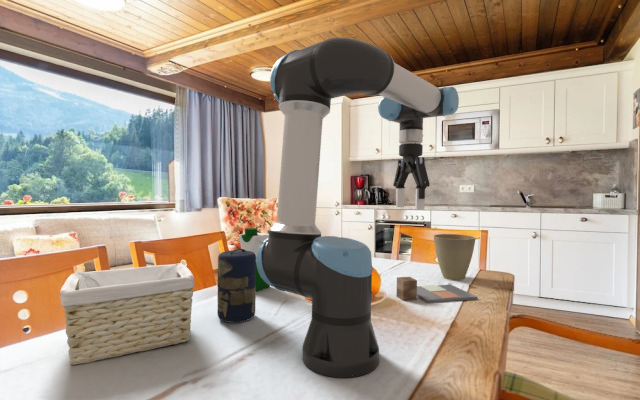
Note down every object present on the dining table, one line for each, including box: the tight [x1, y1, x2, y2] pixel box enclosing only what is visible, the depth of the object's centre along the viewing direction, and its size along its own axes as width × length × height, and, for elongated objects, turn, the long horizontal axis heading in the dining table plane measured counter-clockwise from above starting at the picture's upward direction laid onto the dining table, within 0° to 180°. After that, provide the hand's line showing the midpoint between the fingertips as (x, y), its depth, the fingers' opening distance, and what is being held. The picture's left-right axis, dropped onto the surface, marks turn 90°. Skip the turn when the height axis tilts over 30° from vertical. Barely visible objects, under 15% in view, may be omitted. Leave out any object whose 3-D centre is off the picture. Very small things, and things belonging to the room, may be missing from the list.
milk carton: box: [238, 227, 270, 292], centre depth 118 cm, size 9×9×20 cm
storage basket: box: [59, 262, 196, 366], centre depth 76 cm, size 24×16×15 cm
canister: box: [217, 247, 257, 323], centre depth 90 cm, size 10×10×18 cm
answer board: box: [417, 284, 478, 304], centre depth 113 cm, size 17×14×1 cm
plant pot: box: [433, 233, 476, 281], centre depth 134 cm, size 15×15×16 cm
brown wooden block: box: [395, 276, 418, 302], centre depth 109 cm, size 4×4×6 cm
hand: (409, 208), depth 117 cm, fingers open, 13 cm apart
